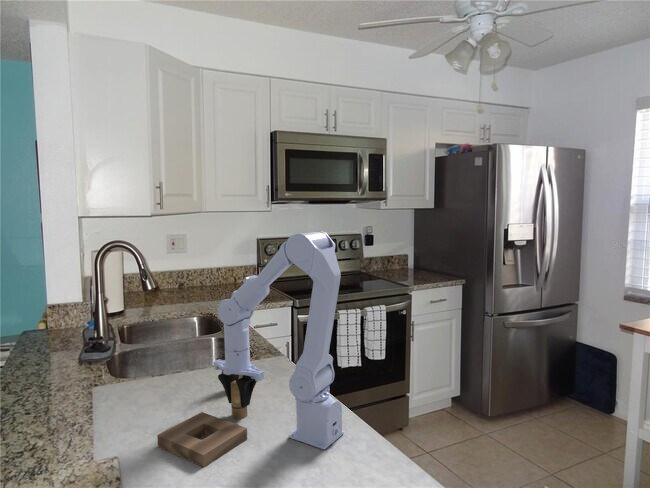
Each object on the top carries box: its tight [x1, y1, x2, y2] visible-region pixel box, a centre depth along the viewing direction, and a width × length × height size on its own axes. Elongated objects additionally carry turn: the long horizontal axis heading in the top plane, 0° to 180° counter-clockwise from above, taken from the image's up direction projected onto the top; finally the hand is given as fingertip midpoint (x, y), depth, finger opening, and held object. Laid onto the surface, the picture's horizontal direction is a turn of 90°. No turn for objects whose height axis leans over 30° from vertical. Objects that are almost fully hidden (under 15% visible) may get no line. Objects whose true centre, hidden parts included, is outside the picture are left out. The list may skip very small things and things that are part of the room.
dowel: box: [230, 381, 248, 420], centre depth 107 cm, size 4×4×8 cm
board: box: [156, 411, 248, 468], centre depth 95 cm, size 14×12×2 cm
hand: (239, 403), depth 107 cm, fingers closed on dowel, 4 cm apart
